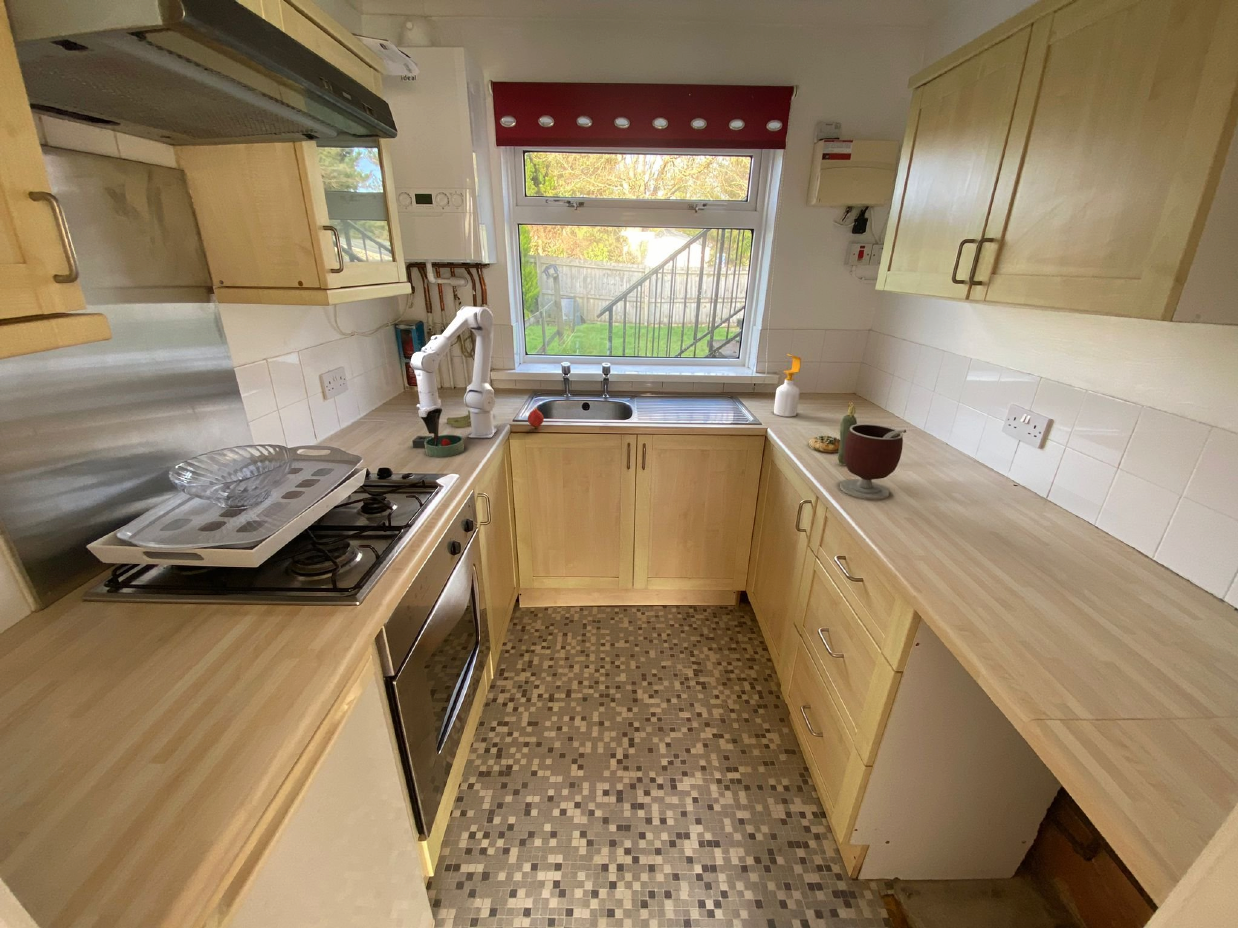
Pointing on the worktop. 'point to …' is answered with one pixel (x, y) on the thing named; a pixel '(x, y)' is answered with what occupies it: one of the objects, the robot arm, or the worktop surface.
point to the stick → (436, 434)
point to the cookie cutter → (460, 421)
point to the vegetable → (846, 430)
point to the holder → (420, 441)
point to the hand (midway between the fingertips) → (433, 432)
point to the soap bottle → (788, 392)
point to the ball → (445, 442)
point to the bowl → (444, 451)
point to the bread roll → (825, 444)
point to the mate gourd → (871, 458)
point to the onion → (535, 418)
